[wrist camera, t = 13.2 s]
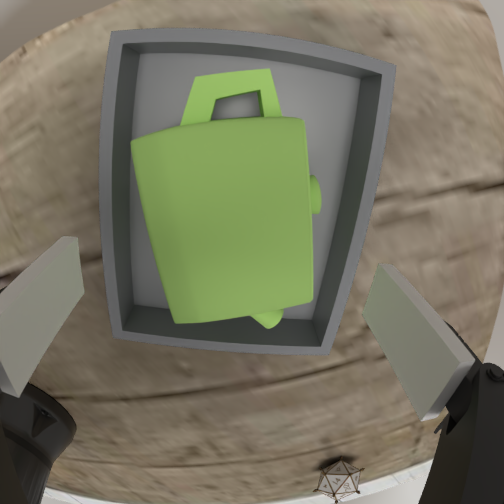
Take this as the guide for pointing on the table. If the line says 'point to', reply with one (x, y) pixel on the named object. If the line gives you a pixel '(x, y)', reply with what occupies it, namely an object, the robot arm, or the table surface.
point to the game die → (339, 480)
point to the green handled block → (230, 205)
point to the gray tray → (246, 105)
